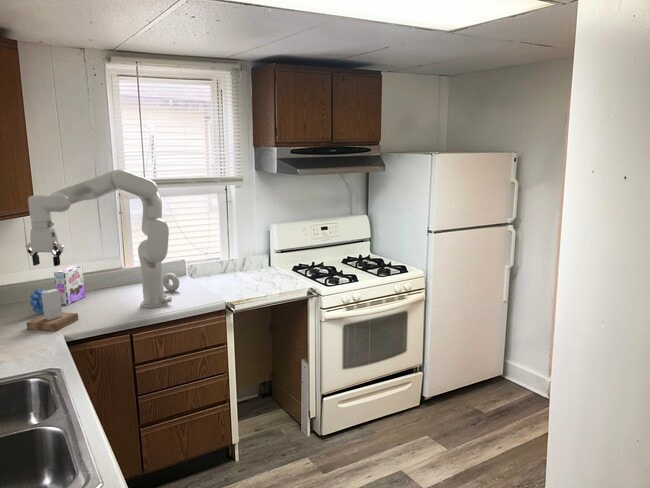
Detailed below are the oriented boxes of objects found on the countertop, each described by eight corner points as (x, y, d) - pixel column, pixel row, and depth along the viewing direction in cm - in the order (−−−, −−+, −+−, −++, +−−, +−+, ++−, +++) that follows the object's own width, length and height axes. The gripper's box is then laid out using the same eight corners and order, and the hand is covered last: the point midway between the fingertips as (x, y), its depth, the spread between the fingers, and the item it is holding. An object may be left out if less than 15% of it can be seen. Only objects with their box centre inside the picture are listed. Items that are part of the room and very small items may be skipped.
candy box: (67, 305, 250) (64, 272, 247) (57, 304, 252) (53, 271, 248) (86, 297, 264) (82, 265, 260) (76, 296, 265) (72, 265, 262)
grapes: (40, 318, 232) (37, 292, 230) (27, 317, 234) (24, 292, 231) (59, 310, 243) (56, 285, 241) (47, 309, 245) (44, 284, 242)
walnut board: (78, 319, 230) (77, 313, 229) (57, 331, 216) (56, 324, 216) (50, 318, 232) (49, 311, 232) (27, 329, 219) (26, 322, 218)
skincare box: (58, 314, 228) (55, 288, 225) (63, 316, 225) (59, 289, 222) (43, 318, 223) (40, 291, 221) (48, 320, 220) (45, 293, 218)
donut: (161, 291, 272) (160, 272, 270) (166, 289, 275) (164, 271, 273) (177, 293, 268) (175, 274, 266) (181, 291, 271) (180, 272, 269)
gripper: (66, 223, 218) (71, 263, 222) (29, 223, 221) (34, 262, 225) (54, 226, 211) (59, 267, 214) (16, 226, 214) (22, 266, 217)
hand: (46, 265), depth 219 cm, fingers open, 9 cm apart
